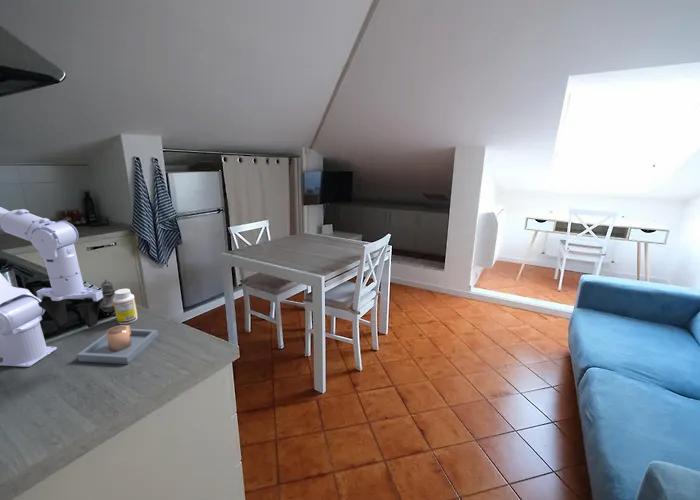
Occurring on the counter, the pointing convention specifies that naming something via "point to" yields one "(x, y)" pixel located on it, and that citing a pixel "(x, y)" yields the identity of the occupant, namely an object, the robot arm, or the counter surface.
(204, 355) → the counter surface
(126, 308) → the supplement bottle
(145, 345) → the tray
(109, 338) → the terracotta cup
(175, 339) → the counter surface
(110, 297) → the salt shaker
